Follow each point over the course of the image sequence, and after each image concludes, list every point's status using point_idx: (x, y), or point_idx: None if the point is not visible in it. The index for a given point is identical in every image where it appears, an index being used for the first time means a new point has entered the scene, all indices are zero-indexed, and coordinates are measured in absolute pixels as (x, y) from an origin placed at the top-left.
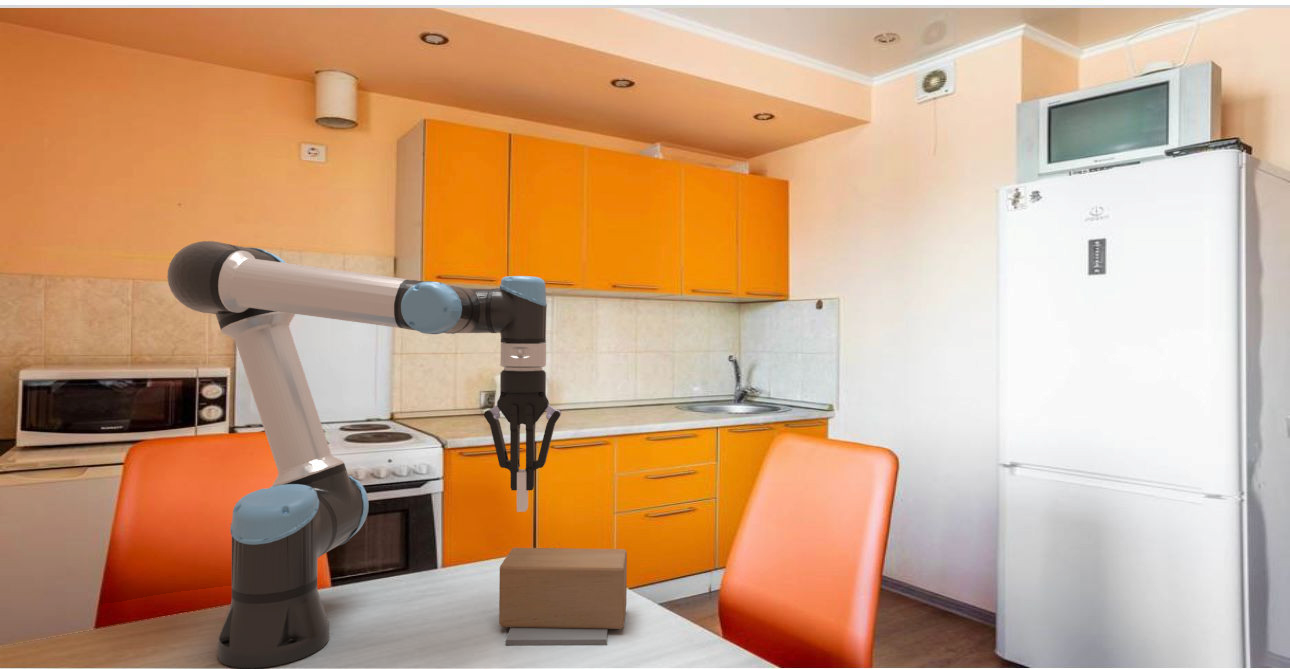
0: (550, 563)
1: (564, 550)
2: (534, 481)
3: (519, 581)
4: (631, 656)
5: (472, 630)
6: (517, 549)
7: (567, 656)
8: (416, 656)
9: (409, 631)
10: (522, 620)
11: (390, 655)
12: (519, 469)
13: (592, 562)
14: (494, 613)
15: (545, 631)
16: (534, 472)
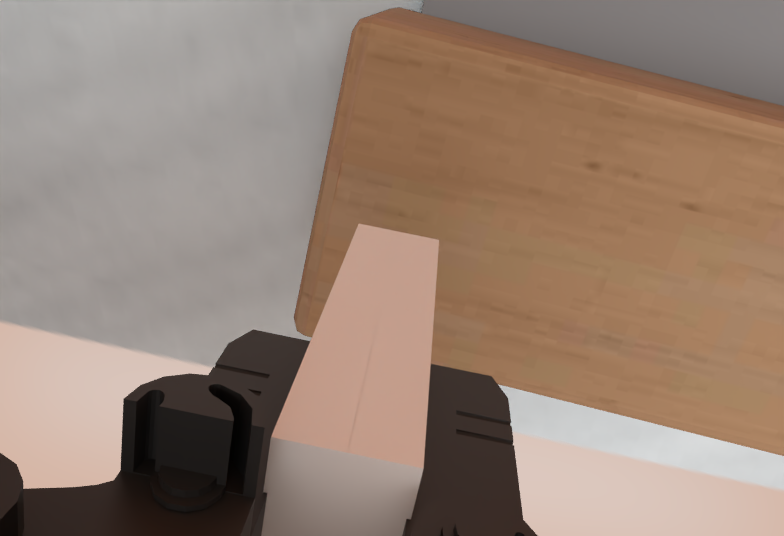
0: (546, 359)
1: (672, 161)
2: (511, 432)
3: None
4: (726, 466)
5: (249, 186)
6: (386, 80)
7: (541, 426)
8: (109, 333)
9: (35, 149)
10: None
11: (32, 311)
12: (272, 455)
13: (765, 392)
14: (320, 39)
15: None
16: (521, 517)
